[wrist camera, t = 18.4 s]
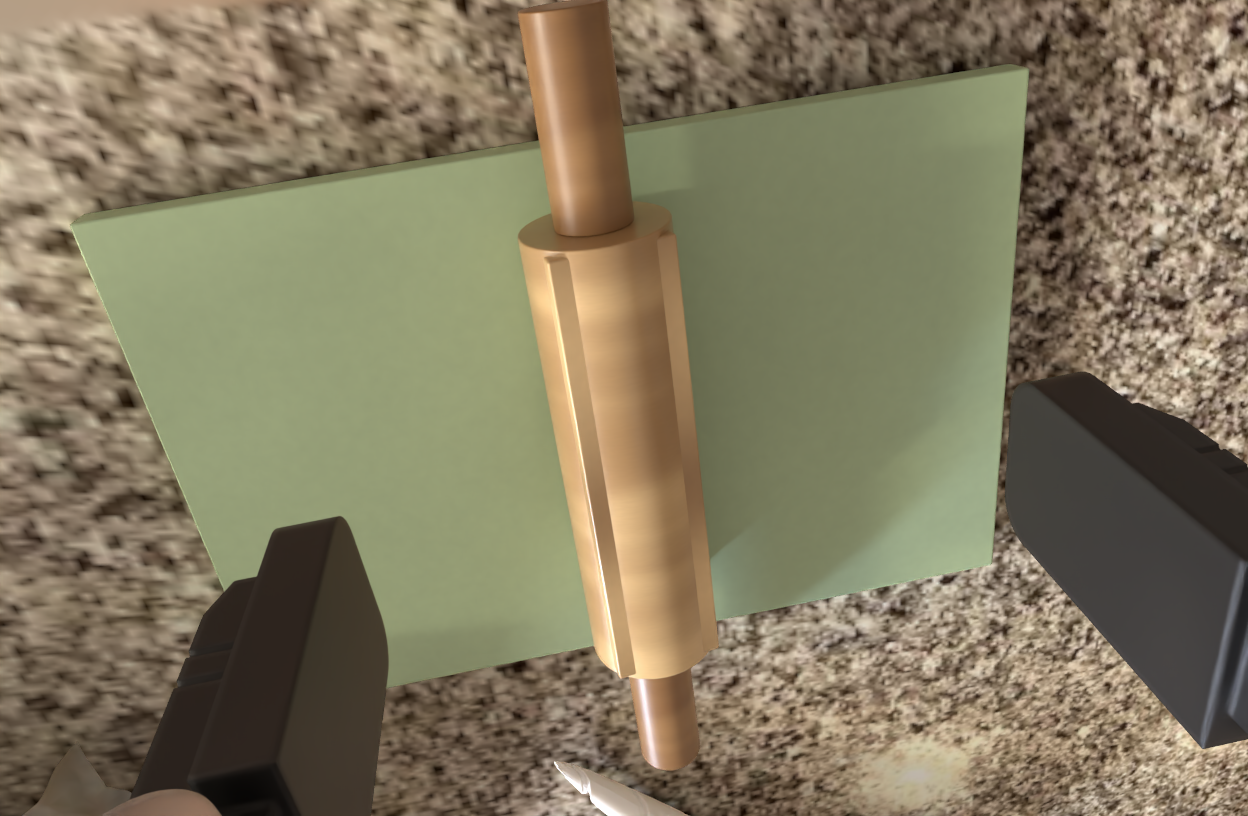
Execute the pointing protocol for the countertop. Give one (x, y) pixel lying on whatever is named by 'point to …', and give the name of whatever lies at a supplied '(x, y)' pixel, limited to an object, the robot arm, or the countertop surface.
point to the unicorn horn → (614, 794)
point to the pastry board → (513, 378)
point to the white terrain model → (77, 790)
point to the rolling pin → (617, 381)
